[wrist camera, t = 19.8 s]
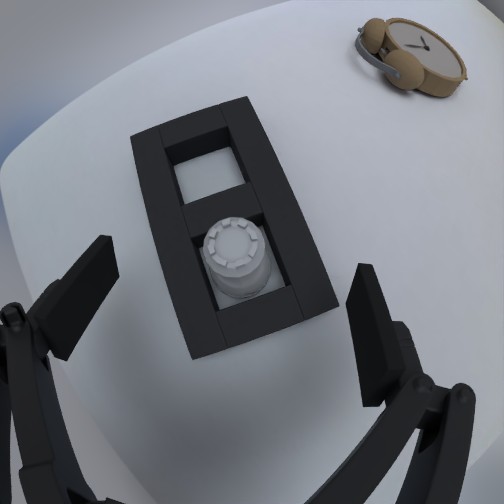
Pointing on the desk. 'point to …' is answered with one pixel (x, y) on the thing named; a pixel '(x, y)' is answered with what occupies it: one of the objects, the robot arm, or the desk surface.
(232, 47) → the desk surface
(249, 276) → the rook chess piece
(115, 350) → the desk surface
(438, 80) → the alarm clock
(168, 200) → the socket pad
